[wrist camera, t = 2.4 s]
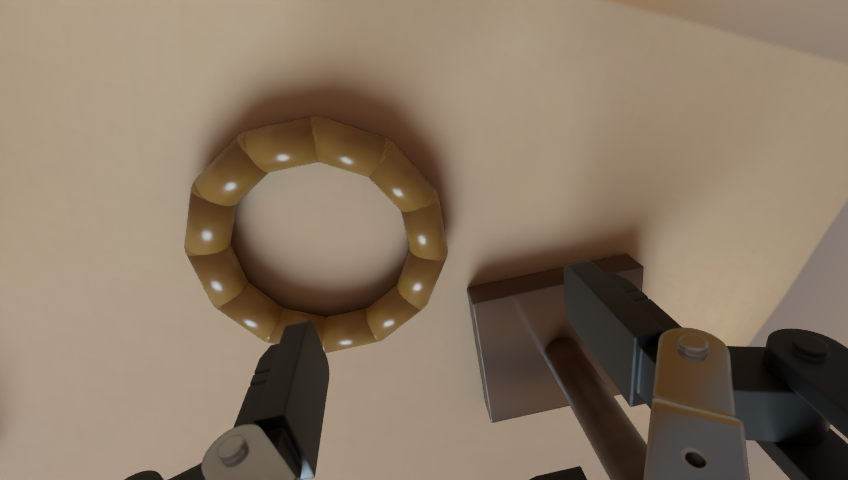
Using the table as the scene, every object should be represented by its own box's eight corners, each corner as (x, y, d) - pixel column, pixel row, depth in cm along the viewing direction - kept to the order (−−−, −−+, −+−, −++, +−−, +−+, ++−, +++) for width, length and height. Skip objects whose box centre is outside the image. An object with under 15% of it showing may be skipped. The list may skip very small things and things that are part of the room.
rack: (466, 288, 21) (549, 507, 11) (627, 253, 22) (858, 438, 11) (485, 403, 25) (559, 645, 15) (621, 373, 25) (787, 592, 15)
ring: (149, 148, 17) (125, 158, 15) (417, 92, 17) (422, 96, 15) (252, 354, 22) (242, 378, 20) (457, 309, 22) (463, 330, 20)
